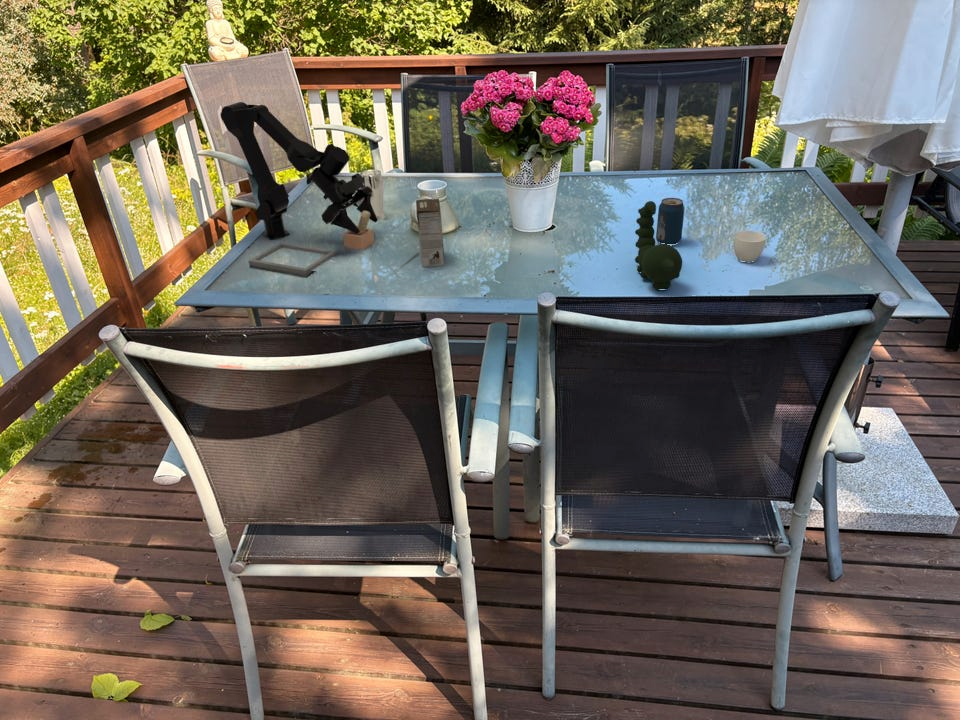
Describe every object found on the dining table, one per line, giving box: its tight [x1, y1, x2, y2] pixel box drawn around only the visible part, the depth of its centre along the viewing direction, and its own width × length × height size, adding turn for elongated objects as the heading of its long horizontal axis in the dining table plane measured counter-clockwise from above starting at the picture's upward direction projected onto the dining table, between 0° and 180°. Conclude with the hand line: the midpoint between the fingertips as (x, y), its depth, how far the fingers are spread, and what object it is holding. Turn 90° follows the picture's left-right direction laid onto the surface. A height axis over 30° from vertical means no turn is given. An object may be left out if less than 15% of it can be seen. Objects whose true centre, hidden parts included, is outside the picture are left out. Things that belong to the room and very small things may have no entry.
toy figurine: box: [634, 200, 683, 290], centre depth 174 cm, size 9×19×25 cm
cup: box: [733, 230, 767, 262], centre depth 185 cm, size 8×10×7 cm
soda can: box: [655, 197, 685, 244], centre depth 195 cm, size 7×7×12 cm
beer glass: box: [359, 169, 387, 221], centre depth 222 cm, size 7×7×15 cm
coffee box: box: [415, 198, 445, 268], centre depth 191 cm, size 9×6×16 cm
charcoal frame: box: [247, 241, 338, 278], centre depth 198 cm, size 20×14×2 cm
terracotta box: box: [342, 226, 375, 251], centre depth 204 cm, size 6×6×5 cm
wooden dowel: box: [356, 211, 370, 236], centre depth 202 cm, size 6×2×11 cm, turn 64°
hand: (367, 227), depth 200 cm, fingers open, 9 cm apart
